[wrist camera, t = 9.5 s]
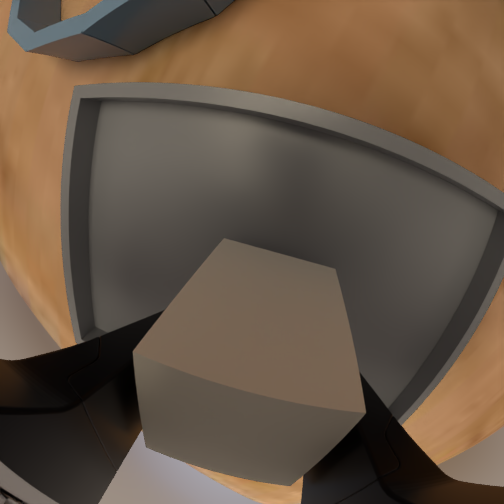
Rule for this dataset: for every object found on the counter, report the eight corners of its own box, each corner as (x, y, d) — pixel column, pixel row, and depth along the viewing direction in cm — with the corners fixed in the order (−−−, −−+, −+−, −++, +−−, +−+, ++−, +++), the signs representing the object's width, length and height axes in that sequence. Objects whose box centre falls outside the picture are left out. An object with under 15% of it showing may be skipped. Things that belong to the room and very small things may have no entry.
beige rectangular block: (335, 269, 9) (365, 413, 4) (300, 352, 11) (290, 486, 5) (223, 238, 10) (133, 351, 4) (206, 327, 11) (145, 447, 5)
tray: (497, 198, 9) (527, 210, 7) (388, 403, 14) (394, 431, 12) (107, 91, 10) (74, 85, 8) (97, 321, 16) (75, 342, 13)
